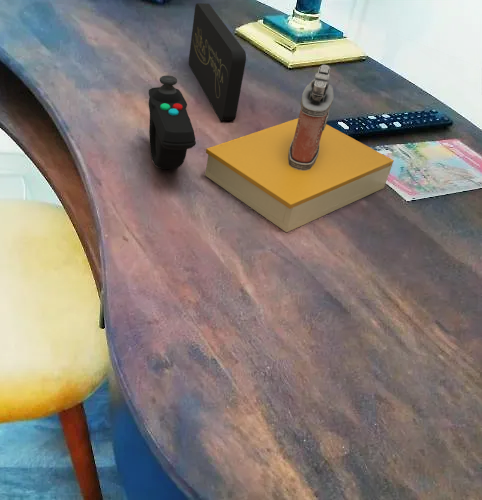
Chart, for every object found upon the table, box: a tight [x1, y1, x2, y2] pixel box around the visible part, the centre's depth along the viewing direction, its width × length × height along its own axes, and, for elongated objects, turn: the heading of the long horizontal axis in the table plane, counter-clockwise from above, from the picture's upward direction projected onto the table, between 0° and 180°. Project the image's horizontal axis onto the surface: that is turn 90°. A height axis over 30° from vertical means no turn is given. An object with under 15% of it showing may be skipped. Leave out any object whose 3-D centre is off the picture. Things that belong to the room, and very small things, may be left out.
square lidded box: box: [204, 154, 393, 233], centre depth 78 cm, size 18×14×3 cm
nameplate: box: [188, 2, 247, 121], centre depth 95 cm, size 21×2×10 cm, turn 10°
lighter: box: [288, 64, 335, 171], centre depth 74 cm, size 8×3×10 cm, turn 162°
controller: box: [148, 75, 197, 170], centre depth 77 cm, size 4×12×10 cm, turn 8°
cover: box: [205, 117, 394, 209], centre depth 77 cm, size 18×14×1 cm
